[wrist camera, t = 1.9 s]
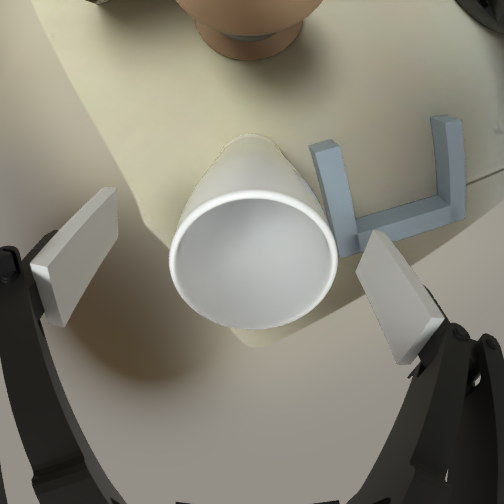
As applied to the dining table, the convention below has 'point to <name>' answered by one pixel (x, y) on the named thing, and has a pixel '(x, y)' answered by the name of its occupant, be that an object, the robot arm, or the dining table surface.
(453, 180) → the blue u-shaped block
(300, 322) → the dining table surface
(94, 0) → the coffee box
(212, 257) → the drinking glass
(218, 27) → the bobbin
